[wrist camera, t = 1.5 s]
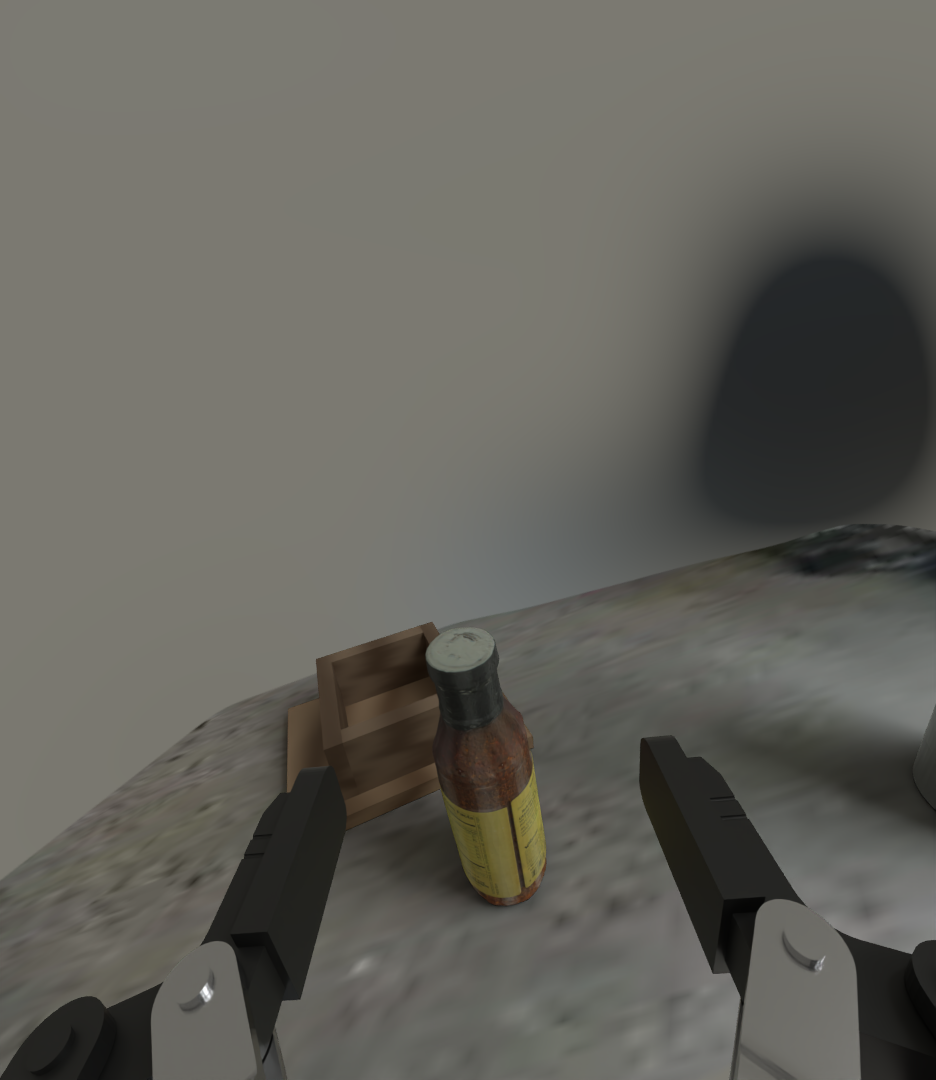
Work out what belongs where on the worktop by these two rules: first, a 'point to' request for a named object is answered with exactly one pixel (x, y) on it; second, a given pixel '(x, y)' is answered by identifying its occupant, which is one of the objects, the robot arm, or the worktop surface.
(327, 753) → the walnut caddy
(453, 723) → the sauce bottle
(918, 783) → the robot arm
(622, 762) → the worktop surface
